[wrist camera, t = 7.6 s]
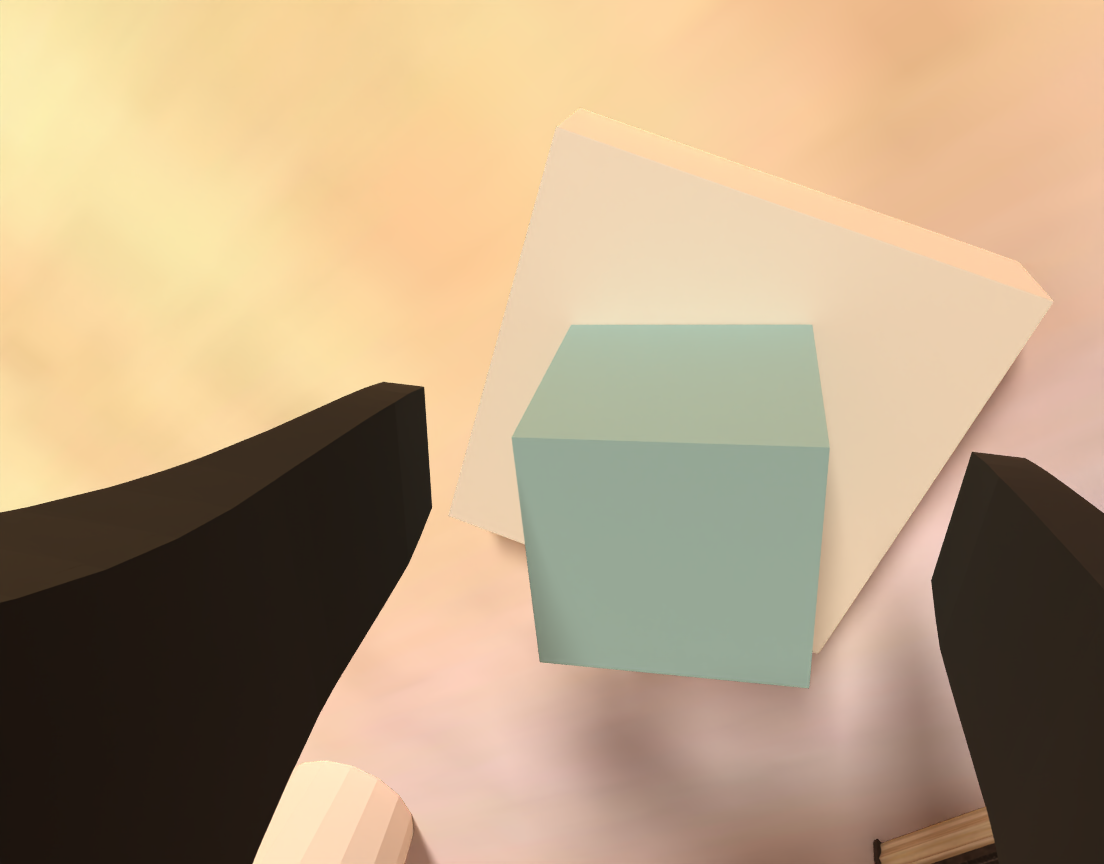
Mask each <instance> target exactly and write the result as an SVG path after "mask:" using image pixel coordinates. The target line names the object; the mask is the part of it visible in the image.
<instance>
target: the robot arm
mask: <svg viewBox="0 0 1104 864" xmlns="http://www.w3.org/2000/svg"><path fill="white" fill-rule="evenodd" d="M431 509H432V499H431V484H430V469H429V454H428V439H427V424H426V409H425V394H424V387H421V386H413V385H404V384H396V383H388V382H382V383H379V384H375V385H372V386H369V387H366V388H364V389H361V390H359V391H356V392H354V393H351V394H349V395H347V396H344V397H342V398H340V399H338V400H335V401H333V402H331V403H329V404H326V405H324V406H322V407H320V408H317V409H315V410H313V411H311V412H309V413H306V414H304V415H302V416H300V417H297V418H295V419H293V420H291V421H288V422H286V423H284V424H282V425H280V426H277V427H275V428H273V429H271V430H268V431H266V432H263V433H261V434H258V435H256V436H254V437H251V438H249V439H246V440H244V441H241V442H239V443H236V444H234V445H231V446H229V447H226V448H224V449H221V450H219V451H217V452H214V453H212V454H209V455H207V456H204V457H202V458H199V459H196V460H193V461H191V462H188V463H185V464H182V465H179V466H176V467H173V468H170V469H168V470H165V471H161V472H158V473H155V474H152V475H149V476H145V477H142V478H139V479H136V480H132V481H129V482H126V483H123V484H119V485H116V486H112V487H109V488H105V489H101V490H96V491H92V492H88V493H84V494H80V495H76V496H72V497H68V498H64V499H59V500H55V501H51V502H47V503H43V504H39V505H35V506H31V507H26V508H21V509H16V510H11V511H6V512H1V513H0V864H253V862H254V859H255V857H256V854H257V852H258V849H259V847H260V845H261V842H262V840H263V838H264V835H265V833H266V831H267V829H268V826H269V824H270V822H271V819H272V817H273V815H274V813H275V810H276V808H277V806H278V803H279V801H280V799H281V797H282V794H283V792H284V790H285V787H286V785H287V783H288V780H289V778H290V776H291V774H292V772H293V770H294V767H295V765H296V763H297V761H298V759H299V757H300V755H301V752H302V750H303V748H304V746H305V744H306V742H307V740H308V738H309V735H310V733H311V731H312V729H313V727H314V725H315V723H316V720H317V718H318V716H319V714H320V712H321V710H322V709H323V707H324V705H325V703H326V701H327V699H328V698H329V696H330V694H331V692H332V690H333V688H334V687H335V685H336V683H337V682H338V680H339V678H340V677H341V675H342V673H343V672H344V670H345V668H346V667H347V665H348V664H349V662H350V660H351V659H352V657H353V655H354V654H355V652H356V650H357V649H358V647H359V646H360V644H361V642H362V641H363V639H364V637H365V636H366V634H367V632H368V631H369V629H370V628H371V626H372V624H373V623H374V621H375V619H376V618H377V616H378V614H379V613H380V611H381V610H382V608H383V606H384V605H385V603H386V601H387V600H388V598H389V596H390V595H391V593H392V591H393V589H394V588H395V586H396V584H397V583H398V581H399V579H400V578H401V576H402V574H403V573H404V571H405V569H406V567H407V566H408V564H409V562H410V559H411V557H412V555H413V553H414V550H415V548H416V546H417V543H418V541H419V539H420V536H421V534H422V531H423V529H424V526H425V524H426V521H427V519H428V516H429V514H430V511H431ZM931 582H932V591H933V600H934V608H935V617H936V624H937V631H938V638H939V645H940V650H941V654H942V657H943V661H944V665H945V668H946V672H947V675H948V679H949V683H950V686H951V690H952V693H953V697H954V700H955V704H956V707H957V710H958V714H959V717H960V721H961V724H962V727H963V731H964V734H965V738H966V741H967V744H968V748H969V751H970V755H971V758H972V761H973V765H974V768H975V772H976V775H977V778H978V782H979V785H980V789H981V792H982V795H983V799H984V802H985V806H986V809H987V813H988V817H989V821H990V825H991V829H992V833H993V838H994V842H995V846H996V851H997V856H998V862H999V864H1104V513H1103V512H1101V511H1100V510H1099V509H1097V508H1096V507H1095V506H1093V505H1092V504H1091V503H1089V502H1088V501H1087V500H1085V499H1084V498H1083V497H1081V496H1080V495H1079V494H1077V493H1076V492H1075V491H1073V490H1072V489H1071V488H1069V487H1068V486H1066V485H1065V484H1064V483H1062V482H1061V481H1059V480H1058V479H1057V478H1055V477H1054V476H1053V475H1051V474H1050V473H1048V472H1047V471H1045V470H1044V469H1042V468H1041V467H1039V466H1038V465H1036V464H1034V463H1033V462H1031V461H1029V460H1027V459H1026V458H1019V457H1011V456H1002V455H994V454H986V453H977V452H972V454H971V457H970V460H969V463H968V466H967V469H966V473H965V476H964V479H963V482H962V485H961V488H960V491H959V495H958V498H957V501H956V504H955V507H954V510H953V513H952V517H951V520H950V523H949V526H948V529H947V532H946V536H945V539H944V542H943V545H942V548H941V551H940V554H939V558H938V561H937V564H936V567H935V570H934V573H933V576H932V580H931Z"/></svg>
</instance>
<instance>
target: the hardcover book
mask: <svg viewBox="0 0 1104 864" xmlns="http://www.w3.org/2000/svg"><path fill="white" fill-rule="evenodd" d="M873 844H874V861H875V864H999V862H998V856H997V851H996V846H995V842H994V838H993V833H992V829H991V825H990V821H989V817H988V813H987V809H986V807H983V808H980V809H977V810H974V811H971V812H969V813H966V814H963V815H960V816H957V817H954V818H952V819H949V820H946V821H943V822H940V823H937V824H934V825H932V826H929V827H926V828H923V829H920V830H917V831H915V832H912V833H909V834H906V835H903V836H900V837H898V838H895V839H892V840H889V841H886V842H883V843H881V842H880V841H879V840H878V839H876V840H874V843H873Z"/></svg>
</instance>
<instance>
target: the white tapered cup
mask: <svg viewBox="0 0 1104 864" xmlns="http://www.w3.org/2000/svg"><path fill="white" fill-rule="evenodd" d="M413 833H414V830H413V822H412V814H411V813H410V811H409V810H408V808H407V807H406V805H405V804H404V802H403V800H402V799H401V797H400V796H399V795H398V794H397V793H396V792H395V791H393V790H392V789H391V788H390V787H388V786H387V785H386V784H385V783H384V782H382V781H381V780H380V779H379V778H377V777H375V776H373V775H371V774H369V773H366V772H364V771H362V770H360V769H358V768H356V767H354V766H351V765H346V764H341V763H336V762H331V761H326V760H324V761H315V762H306V763H301V764H300V765H298V766H297V767H295V768H294V770H293V772H292V774H291V776H290V778H289V780H288V783H287V785H286V787H285V790H284V792H283V794H282V797H281V799H280V801H279V803H278V806H277V808H276V810H275V813H274V815H273V817H272V819H271V822H270V824H269V826H268V829H267V831H266V833H265V835H264V838H263V840H262V842H261V845H260V847H259V849H258V852H257V854H256V857H255V859H254V862H253V864H404V863H405V860H406V857H407V853H408V850H409V847H410V843H411V840H412V836H413Z"/></svg>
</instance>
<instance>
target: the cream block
mask: <svg viewBox="0 0 1104 864" xmlns="http://www.w3.org/2000/svg"><path fill="white" fill-rule="evenodd" d="M1053 302H1054V301H1053V300H1052V299H1051V298H1050V297H1049V295H1048V294H1047V293H1046V292H1045V291H1044V290H1043V289H1042V288H1041V287H1040V285H1039V284H1038V283H1037V282H1036V281H1035V280H1034V279H1033V278H1032V276H1031V275H1030V274H1029V273H1028V272H1027V271H1026V270H1025V269H1024V267H1023V266H1022V265H1021V264H1020V263H1019V262H1018V261H1016V260H1013V259H1010V258H1007V257H1004V256H1001V255H998V254H996V253H993V252H990V251H987V250H984V249H981V248H979V247H976V246H973V245H970V244H967V243H964V242H961V241H959V240H956V239H953V238H950V237H947V236H944V235H942V234H939V233H936V232H933V231H930V230H927V229H924V228H922V227H919V226H916V225H913V224H910V223H907V222H904V221H902V220H899V219H896V218H893V217H890V216H887V215H885V214H882V213H879V212H876V211H873V210H870V209H867V208H865V207H862V206H859V205H856V204H853V203H850V202H848V201H845V200H842V199H839V198H836V197H833V196H830V195H828V194H825V193H822V192H819V191H816V190H813V189H811V188H808V187H805V186H802V185H799V184H796V183H793V182H791V181H788V180H785V179H782V178H779V177H776V176H774V175H771V174H768V173H765V172H762V171H759V170H756V169H754V168H751V167H748V166H745V165H742V164H739V163H737V162H734V161H731V160H728V159H725V158H722V157H719V156H717V155H714V154H711V153H708V152H705V151H702V150H700V149H697V148H694V147H691V146H688V145H685V144H682V143H680V142H677V141H674V140H671V139H668V138H665V137H663V136H660V135H657V134H654V133H651V132H648V131H645V130H643V129H640V128H637V127H634V126H631V125H628V124H626V123H623V122H620V121H617V120H614V119H611V118H608V117H606V116H603V115H600V114H597V113H594V112H591V111H588V110H586V109H583V108H579V109H578V110H576V111H575V112H574V113H573V114H571V115H570V116H569V117H568V118H566V119H565V120H564V121H563V122H561V123H560V124H559V125H557V126H556V130H555V133H554V137H553V140H552V144H551V148H550V151H549V155H548V158H547V162H546V166H545V169H544V173H543V176H542V180H541V184H540V187H539V191H538V194H537V198H536V202H535V205H534V209H533V212H532V216H531V220H530V223H529V227H528V231H527V234H526V238H525V241H524V245H523V249H522V252H521V256H520V259H519V263H518V267H517V270H516V274H515V277H514V281H513V285H512V288H511V292H510V295H509V299H508V303H507V306H506V310H505V313H504V317H503V321H502V324H501V328H500V331H499V335H498V339H497V342H496V346H495V350H494V353H493V357H492V360H491V364H490V368H489V371H488V375H487V378H486V382H485V386H484V389H483V393H482V396H481V400H480V404H479V407H478V411H477V414H476V418H475V422H474V425H473V429H472V432H471V436H470V440H469V443H468V447H467V450H466V454H465V458H464V461H463V465H462V469H461V472H460V476H459V479H458V483H457V487H456V490H455V494H454V497H453V501H452V505H451V508H450V512H449V515H448V516H450V517H452V518H455V519H458V520H460V521H463V522H466V523H468V524H471V525H474V526H477V527H479V528H482V529H485V530H487V531H490V532H493V533H495V534H498V535H501V536H503V537H506V538H509V539H511V540H514V541H517V542H519V543H522V544H525V541H524V533H523V525H522V517H521V509H520V501H519V493H518V485H517V477H516V469H515V461H514V453H513V445H512V435H513V434H514V432H515V430H516V428H517V426H518V424H519V422H520V420H521V418H522V417H523V415H524V413H525V411H526V409H527V407H528V405H529V403H530V401H531V399H532V398H533V396H534V394H535V392H536V390H537V388H538V386H539V384H540V382H541V381H542V379H543V377H544V375H545V373H546V371H547V369H548V367H549V365H550V364H551V362H552V360H553V358H554V356H555V354H556V352H557V350H558V348H559V347H560V345H561V343H562V341H563V339H564V337H565V335H566V333H567V331H568V330H569V328H570V326H571V325H812V326H813V333H814V340H815V347H816V354H817V361H818V368H819V375H820V382H821V389H822V396H823V403H824V410H825V417H826V424H827V431H828V439H829V446H830V451H829V462H828V474H827V486H826V497H825V509H824V521H823V532H822V544H821V556H820V567H819V579H818V591H817V603H816V614H815V626H814V638H813V649H812V652H814V653H817V654H818V653H819V652H820V650H821V649H822V647H823V646H824V645H825V643H826V642H827V640H828V639H829V637H830V636H831V634H832V633H833V631H834V630H835V628H836V627H837V625H838V624H839V622H840V621H841V619H842V618H843V616H844V615H845V613H846V612H847V610H848V609H849V607H850V606H851V604H852V603H853V601H854V600H855V598H856V597H857V595H858V594H859V592H860V591H861V589H862V588H863V586H864V585H865V583H866V582H867V580H868V579H869V577H870V576H871V574H872V573H873V571H874V570H875V568H876V567H877V565H878V564H879V562H880V561H881V559H882V558H883V556H884V555H885V553H886V552H887V550H888V549H889V547H890V546H891V544H892V543H893V541H894V540H895V538H896V537H897V535H898V534H899V532H900V531H901V529H902V528H903V526H904V525H905V523H906V522H907V520H908V519H909V517H910V516H911V514H912V513H913V511H914V510H915V508H916V507H917V505H918V504H919V502H920V501H921V499H922V498H923V496H924V495H925V493H926V492H927V490H928V489H929V487H930V486H931V484H932V483H933V481H934V480H935V478H936V477H937V476H938V474H939V473H940V471H941V470H942V468H943V467H944V465H945V464H946V462H947V461H948V459H949V458H950V456H951V455H952V453H953V452H954V450H955V449H956V447H957V446H958V444H959V443H960V441H961V440H962V438H963V437H964V435H965V434H966V432H967V431H968V429H969V428H970V426H971V425H972V423H973V422H974V420H975V419H976V417H977V416H978V414H979V413H980V411H981V410H982V408H983V407H984V405H985V404H986V402H987V401H988V399H989V398H990V396H991V395H992V393H993V392H994V390H995V389H996V387H997V386H998V384H999V383H1000V381H1001V380H1002V378H1003V377H1004V375H1005V374H1006V372H1007V371H1008V369H1009V368H1010V366H1011V365H1012V363H1013V362H1014V360H1015V359H1016V357H1017V356H1018V354H1019V353H1020V351H1021V350H1022V348H1023V347H1024V345H1025V344H1026V342H1027V341H1028V339H1029V338H1030V336H1031V335H1032V333H1033V332H1034V330H1035V329H1036V327H1037V326H1038V324H1039V323H1040V321H1041V320H1042V318H1043V317H1044V315H1045V314H1046V312H1047V311H1048V309H1049V308H1050V307H1051V305H1052V304H1053Z"/></svg>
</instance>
